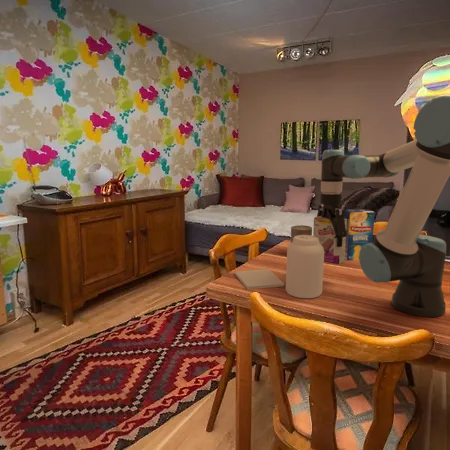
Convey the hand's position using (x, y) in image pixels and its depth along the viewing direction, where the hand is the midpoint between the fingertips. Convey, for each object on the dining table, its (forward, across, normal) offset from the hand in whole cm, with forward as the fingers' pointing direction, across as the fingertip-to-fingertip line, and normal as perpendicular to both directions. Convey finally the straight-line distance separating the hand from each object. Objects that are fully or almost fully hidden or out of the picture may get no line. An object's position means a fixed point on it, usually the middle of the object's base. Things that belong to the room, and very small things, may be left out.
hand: (328, 251), depth 139 cm
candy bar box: (+4, 0, 0) cm, 4 cm away
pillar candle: (+11, +34, -5) cm, 36 cm away
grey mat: (+11, +7, +25) cm, 28 cm away
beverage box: (+11, +24, -28) cm, 38 cm away
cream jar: (+12, -8, +14) cm, 20 cm away
